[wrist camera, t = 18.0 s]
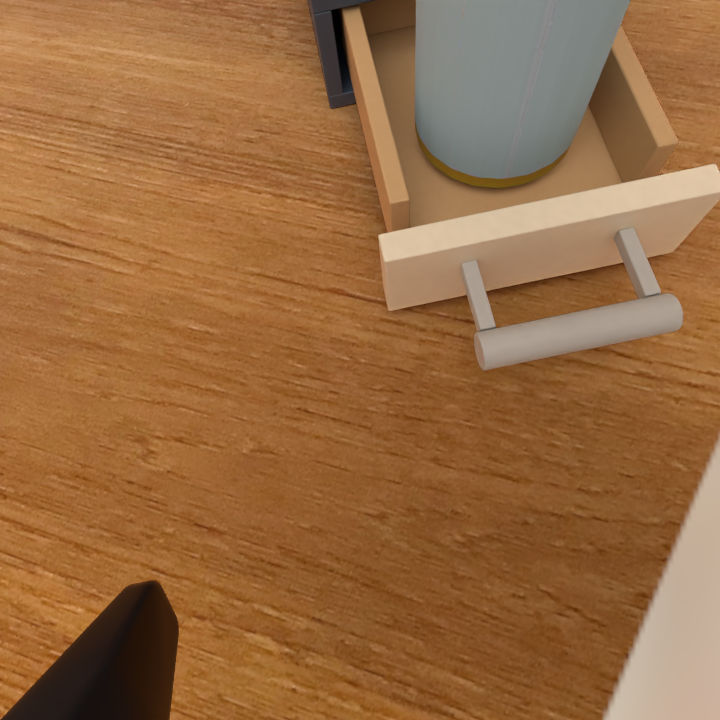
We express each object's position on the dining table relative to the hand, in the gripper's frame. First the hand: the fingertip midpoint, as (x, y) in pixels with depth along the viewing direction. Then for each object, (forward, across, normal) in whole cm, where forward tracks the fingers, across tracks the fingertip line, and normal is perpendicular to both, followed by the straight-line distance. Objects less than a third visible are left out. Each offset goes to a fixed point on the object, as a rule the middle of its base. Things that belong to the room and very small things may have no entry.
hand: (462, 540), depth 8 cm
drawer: (+20, -7, -2) cm, 21 cm away
